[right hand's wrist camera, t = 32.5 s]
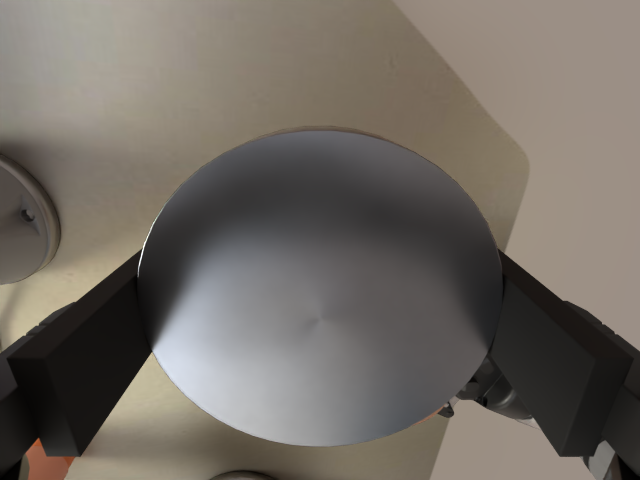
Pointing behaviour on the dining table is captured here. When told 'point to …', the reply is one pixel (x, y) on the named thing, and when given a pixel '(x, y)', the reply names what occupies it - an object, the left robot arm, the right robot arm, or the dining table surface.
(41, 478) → the cup with straw
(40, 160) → the dining table surface
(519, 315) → the right robot arm
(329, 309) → the lid
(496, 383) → the left robot arm
